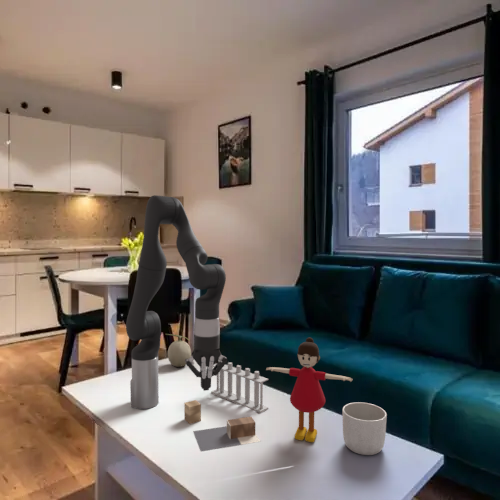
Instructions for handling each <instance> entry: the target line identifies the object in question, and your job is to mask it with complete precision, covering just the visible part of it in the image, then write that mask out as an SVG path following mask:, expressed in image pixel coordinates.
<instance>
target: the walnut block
mask: <svg viewBox="0 0 500 500" xmlns="http://www.w3.org/2000/svg"><path fill="white" fill-rule="evenodd" d="M226 426H227V434H228V436H229V438H230V439H233V438H240V437H246V436H253V435H255V434H256V421H255V419H254V418H253V417H252V416H245V417H239V418H232V419H226Z"/></svg>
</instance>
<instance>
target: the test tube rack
mask: <svg viewBox="0 0 500 500" xmlns="http://www.w3.org/2000/svg"><path fill="white" fill-rule="evenodd" d="M216 364H217V363H215V364H214V365H213V368H214V367H215V365H216ZM225 372H227V390H225ZM233 375H235V376H236V378H235V386H236V387H235V393H233ZM242 378H244V397H243V396H242ZM251 381H252V382H253V386H254V387H253V390H254V391H253V392H254V394H253V395H254V396H253V397H254V398H253V400H251V386H250V385H251ZM267 381H269V378H266V377H264V376H261V374H260V371H259V370H255V371H254V373H252V372H251V368H249V367H245V369H244V370H243V369H242V365H239V364H237V365H236V367H235V366H233V362H229V361H228V362H227V364H225V365H224V366H223V368H222V369H221V370H220V372H219V373H218V374H217V375H216V389H214V390H212V391H210V393H211V395H214V394H215V396H217V397H219V398H222V399H224V400H226V399H227V401H229V402H231V401H232V403H234V404H236V403H237V405H239V406H244V407H246V408H249V409H251V410H254V412H256V413H259V414H262V413H264V412H266V411H268V410H269V406H266V405H264V404H263V397H264V395H263V393H264V392H263V391H264V390H263V389H264V388H263V386H264V385H263V384H264V382H267Z"/></svg>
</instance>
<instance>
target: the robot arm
mask: <svg viewBox="0 0 500 500" xmlns="http://www.w3.org/2000/svg"><path fill="white" fill-rule="evenodd" d="M144 214H145V215H144V224H143V225H144V226H143V239H142V245H141V246H142V247H141V249H140V250H141V251H140V257H139V262H138V266H137V274H136V280H135V281H136V282H135V286H134V291H133V295H132V300H131V303H130V307H129V309H128V313H127V314H128V315H127V318H126V323H125V325H126V326H125V330H126V335H127V336H128V339H130V340H131V341H140V342H138V344H137V345H136V346H134V347H133V349H132V350H131V379H130V384H129V385H130V408H135V409H141V410H146V409H151V408H152V409H153V408H154V407H156V406H157V405H158V404H159V403H160V402H159V401H160V399H159V351H160V348H161V335H162V323H161V319H160V316H159V314H158V313H157V312H155V311H153V310H148V308H149V305H150V303H151V301H152V300H153V298H154V297H155V295H156V294H157V292H158V291H159V290H160V288H161V287H162V285H163V283H164V280H165V276H166V271H167V265H168V261H167V258H166V255H165V252H164V250H163V248H162V246H161V243H160V238H159V234H160V233H159V230H160V225H172V226H173V227H175V229H176V230H177V236H176V242H175V243H176V244H175V245H176V249H177V251H178V253H179V256H180V257H181V258H182V260H183V262H184V263H185V267H186V271H187V274H188V280H189V283H190V284H191V286H192V287H193V288H194V289H196V290H198V291H200V290H207V291H206V293H205V294H203V295H201V296H199V297H197V298H196V299H195V302H194V303H195V304H194V308H195V309H194V323H193V351H191V357H190V358H189V359H185V363H186V365H185V366H187V367H188V369H189V370H191V372H192V373H193V374H194V375H195V376H196V378H200V387H201V389H203V391H210V389H211V387H212V378H213V376H216V377H217V374H218V373H219V374H220V370H221V369H222V368H223V366H224V365H227V363H228V358H227V357H226V356H225V355H222V353H221V351H220V338H221V337H220V335H221V333H220V332H221V330H220V329H221V328H220V326H221V325H220V324H221V323H220V302H221V300H222V299H221V298H222V295H223V293H224V288H225V286H226V277H227V274H226V271H225V269H224V267H223V266H222V265H221V264H217V263H211V264H206V263H207V262H208V253H207V252H206V250H205V248H204V247H203V245H202V244H201V242H200V241H199V239H198V238H197V236H196V234H195V232H194V230H193V227H192V225H191V223H190V219H189V217H188V215H187V213H186V211H185V207H184V206H183V204H182V202H181V201H180V200H179V199H178V198H176V197H174V196H165V195H151V196H150V197H149V199H148V200H147V204H146V208H145V213H144ZM195 362H196V364H197V366H199V370H198V369H197V368H196V366H195V365H194V364H195ZM214 364H216V365H215V367H213V365H214Z"/></svg>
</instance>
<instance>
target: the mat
mask: <svg viewBox="0 0 500 500" xmlns="http://www.w3.org/2000/svg"><path fill="white" fill-rule="evenodd" d="M193 434H194V437H195V440H196V443H197V445H198V448H199V449H200V450H199V451H200V452H205V451H212V450H213V451H214V450H216V449H223V448H224V449H225V448H231V447H236V446H242V445H248V444H254V443H259V442H261V440H260V438H259V436H258V435H257V434H256V433H255V435H253V436H246V437H240V438H233V439H230V438H229V436H228V434H227V425H225V426H218V427H213V428H206V429H200V430H193Z"/></svg>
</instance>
